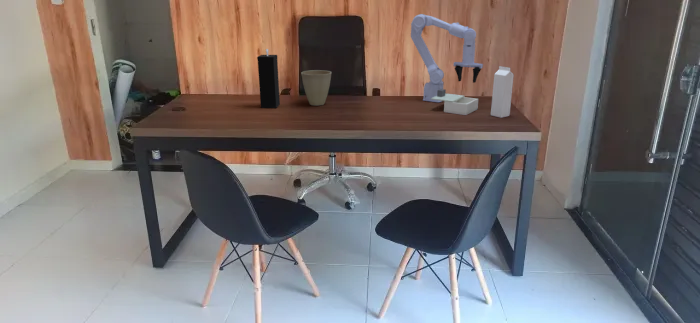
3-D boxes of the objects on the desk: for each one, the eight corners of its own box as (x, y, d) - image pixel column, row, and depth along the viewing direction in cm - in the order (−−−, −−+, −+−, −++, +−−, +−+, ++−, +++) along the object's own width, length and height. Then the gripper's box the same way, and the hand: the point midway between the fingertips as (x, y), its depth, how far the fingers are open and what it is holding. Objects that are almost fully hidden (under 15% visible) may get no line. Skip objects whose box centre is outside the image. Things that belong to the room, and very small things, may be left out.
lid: (430, 99, 233) (431, 91, 232) (443, 94, 244) (444, 87, 243) (452, 102, 227) (453, 94, 226) (464, 96, 238) (465, 89, 237)
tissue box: (280, 104, 247) (277, 47, 238) (276, 108, 240) (273, 49, 230) (264, 104, 248) (261, 47, 238) (260, 108, 240) (256, 49, 231)
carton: (443, 111, 231) (444, 101, 229) (456, 106, 242) (456, 96, 240) (466, 115, 225) (466, 104, 223) (477, 109, 236) (478, 98, 234)
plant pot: (331, 107, 241) (330, 74, 236) (300, 107, 241) (299, 74, 236) (332, 100, 255) (332, 69, 250) (304, 100, 255) (302, 69, 250)
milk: (501, 118, 220) (506, 68, 213) (490, 115, 225) (494, 66, 217) (509, 115, 224) (514, 67, 216) (498, 113, 228) (503, 65, 220)
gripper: (451, 54, 243) (450, 81, 247) (479, 56, 235) (477, 84, 240) (457, 52, 248) (455, 79, 253) (485, 54, 240) (483, 82, 245)
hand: (467, 81), depth 247 cm, fingers open, 7 cm apart
